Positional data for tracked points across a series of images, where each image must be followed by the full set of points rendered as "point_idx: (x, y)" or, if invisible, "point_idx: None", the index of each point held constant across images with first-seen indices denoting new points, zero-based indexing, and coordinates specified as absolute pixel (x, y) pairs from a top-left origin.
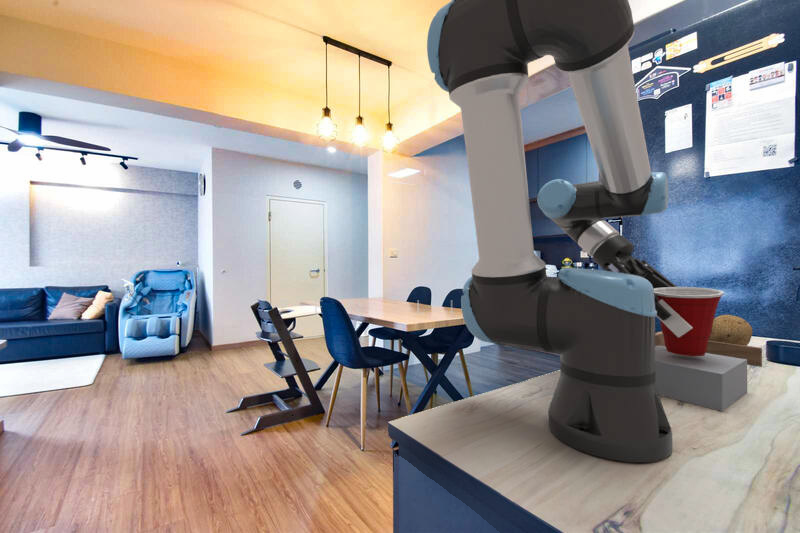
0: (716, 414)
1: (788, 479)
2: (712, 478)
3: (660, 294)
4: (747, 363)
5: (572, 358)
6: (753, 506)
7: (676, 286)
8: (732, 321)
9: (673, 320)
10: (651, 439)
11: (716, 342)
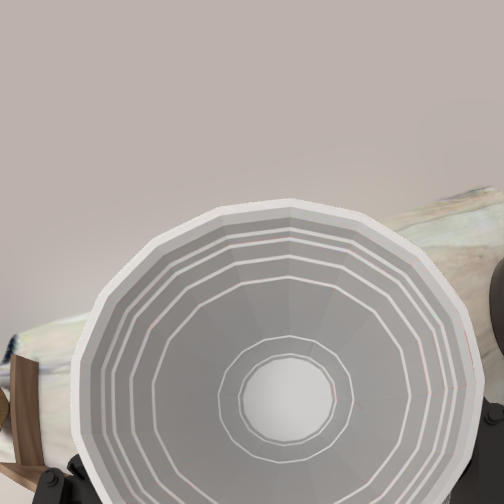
0: None
1: (449, 199)
2: (497, 223)
3: (475, 422)
4: (36, 378)
5: None
6: (494, 198)
7: (38, 502)
8: None
9: None
10: None
11: (15, 417)
